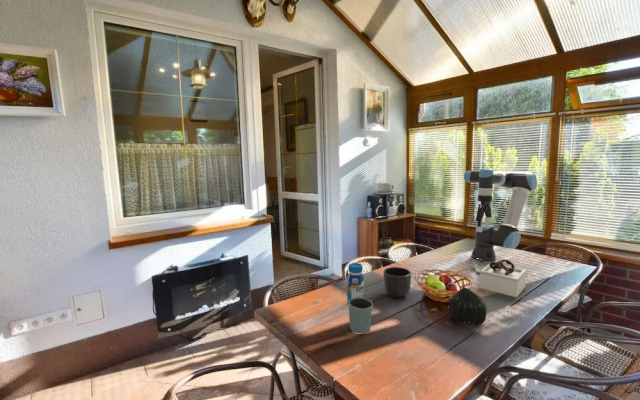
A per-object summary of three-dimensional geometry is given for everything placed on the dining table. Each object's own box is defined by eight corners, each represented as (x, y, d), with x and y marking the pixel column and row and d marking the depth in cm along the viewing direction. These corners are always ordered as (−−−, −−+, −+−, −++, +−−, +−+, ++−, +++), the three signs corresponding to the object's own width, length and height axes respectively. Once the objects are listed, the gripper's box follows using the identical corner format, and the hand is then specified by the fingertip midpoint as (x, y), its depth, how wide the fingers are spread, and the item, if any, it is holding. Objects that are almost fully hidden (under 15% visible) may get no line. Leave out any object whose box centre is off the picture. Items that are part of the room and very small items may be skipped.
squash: (485, 323, 128) (486, 287, 135) (445, 316, 135) (448, 282, 142) (486, 332, 138) (487, 298, 145) (449, 325, 145) (452, 293, 153)
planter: (383, 288, 175) (383, 266, 173) (409, 290, 172) (410, 267, 170) (383, 300, 162) (383, 275, 160) (411, 302, 159) (412, 277, 157)
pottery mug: (504, 269, 180) (512, 259, 175) (510, 282, 172) (519, 272, 167) (484, 264, 180) (491, 254, 175) (489, 277, 172) (496, 267, 167)
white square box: (489, 278, 187) (490, 262, 186) (525, 286, 175) (526, 269, 173) (478, 287, 174) (479, 270, 173) (516, 297, 162) (517, 279, 161)
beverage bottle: (352, 298, 164) (352, 261, 161) (367, 302, 159) (367, 264, 157) (343, 304, 157) (343, 265, 155) (359, 309, 153) (358, 269, 150)
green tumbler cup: (348, 323, 140) (347, 297, 139) (371, 323, 140) (371, 297, 138) (349, 336, 130) (349, 308, 129) (374, 336, 130) (374, 308, 128)
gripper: (485, 192, 202) (483, 225, 205) (470, 196, 184) (469, 232, 187) (498, 193, 196) (496, 227, 199) (484, 197, 179) (482, 234, 182)
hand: (483, 229), depth 193 cm, fingers open, 13 cm apart
